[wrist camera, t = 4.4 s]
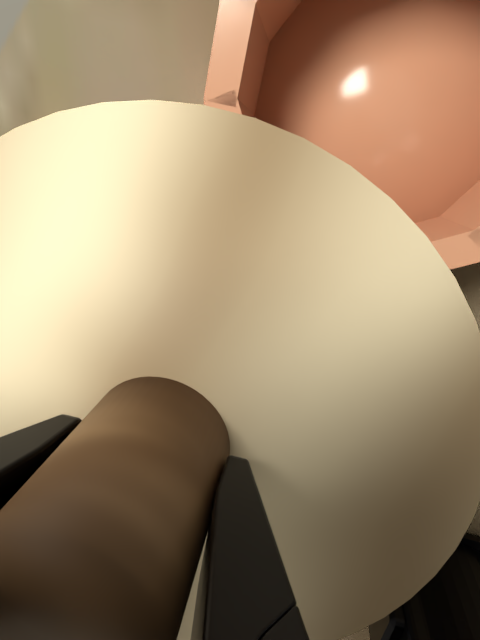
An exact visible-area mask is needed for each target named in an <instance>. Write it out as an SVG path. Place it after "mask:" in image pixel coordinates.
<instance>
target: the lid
mask: <svg viewBox="0 0 480 640" xmlns="http://www.w3.org/2000/svg"><path fill="white" fill-rule="evenodd" d="M61 414H66V415H70V416H74V417H78V418H80V419H81V420H82V421H81V422H80V423H79V424H78V426H77V427H76V428H75V429H74V430H73V431H72V432H71V433H70V434H69V435H68V437H67V438H66V439H65V440H64V441H63V442H62V443H61V444H60V445H59V446H58V448H57V449H56V450H55V451H54V452H53V453H52V454H51V455H50V456H49V457H48V459H47V460H46V461H45V462H44V463H43V464H42V465H41V466H40V467H39V468H38V469H37V471H36V472H35V473H34V474H33V475H32V476H31V477H30V478H29V479H28V480H27V482H26V483H25V484H24V485H23V486H22V487H21V488H20V489H19V490H18V491H17V493H16V494H15V495H14V496H13V497H12V498H11V499H10V500H9V501H8V502H7V504H6V505H5V506H4V507H3V508H2V509H1V510H0V640H191V633H192V625H193V618H194V611H195V604H196V596H197V589H198V583H199V577H200V571H201V566H202V560H203V555H204V550H205V545H206V539H207V534H208V529H209V524H210V518H211V513H212V508H213V503H214V497H215V493H216V489H217V486H218V483H219V480H220V477H221V474H222V471H223V468H224V465H225V462H226V459H227V457H228V456H230V455H232V456H237V457H241V458H245V459H247V460H248V461H249V463H250V466H251V469H252V472H253V475H254V478H255V481H256V484H257V487H258V490H259V493H260V496H261V499H262V502H263V505H264V508H265V511H266V514H267V517H268V520H269V522H270V525H271V528H272V531H273V534H274V537H275V540H276V543H277V546H278V549H279V552H280V555H281V558H282V561H283V564H284V567H285V570H286V573H287V576H288V579H289V582H290V585H291V588H292V590H293V593H294V596H295V599H296V603H297V604H296V606H297V607H298V608H299V610H300V613H301V616H302V619H303V622H304V625H305V628H306V631H307V634H308V636H309V639H310V640H338V639H341V638H343V637H346V636H349V635H351V634H354V633H356V632H358V631H360V630H362V629H364V628H365V627H367V626H369V625H371V624H373V623H375V622H377V621H379V620H381V619H383V618H384V617H386V616H387V615H388V614H390V613H391V612H393V611H394V610H395V609H397V608H398V607H400V606H401V605H403V604H404V603H405V602H407V601H408V600H410V599H411V598H412V597H413V596H414V595H415V594H416V593H417V592H418V591H419V590H420V589H421V588H423V587H424V586H425V585H426V584H427V583H428V582H429V581H430V580H431V579H432V578H433V577H434V576H435V575H436V574H437V573H438V571H439V570H440V569H441V568H442V566H443V565H444V564H445V562H446V561H447V560H448V559H449V557H450V556H451V555H452V554H453V552H454V551H455V550H456V548H457V547H458V545H459V543H460V541H461V540H462V538H463V536H464V534H465V532H466V531H467V529H468V527H469V525H470V524H471V522H472V520H473V518H474V516H475V513H476V510H477V508H478V505H479V502H480V332H479V329H478V326H477V322H476V319H475V317H474V315H473V313H472V311H471V309H470V307H469V305H468V303H467V301H466V299H465V297H464V295H463V293H462V291H461V289H460V286H459V284H458V282H457V280H456V278H455V276H454V275H453V274H452V272H451V271H450V269H449V268H448V266H447V265H446V263H445V262H444V261H443V259H442V258H441V256H440V255H439V253H438V252H437V250H436V249H435V247H434V246H433V245H432V243H431V242H430V240H429V239H428V237H427V236H426V235H425V234H424V233H423V232H422V231H421V230H420V228H419V227H418V226H417V225H416V224H415V223H414V222H413V221H412V220H411V219H410V218H409V217H408V216H407V215H406V213H405V212H404V211H403V210H402V209H401V208H400V207H399V206H398V205H397V204H396V203H395V202H394V201H393V200H392V198H390V197H389V196H388V195H387V194H385V193H384V192H383V191H382V190H380V189H379V188H378V187H377V186H375V185H374V184H373V183H372V182H370V181H369V180H368V179H367V178H365V177H364V176H363V175H362V174H360V173H359V172H358V171H357V170H355V169H354V168H353V167H352V166H350V165H349V164H347V163H345V162H344V161H342V160H340V159H339V158H337V157H335V156H333V155H332V154H330V153H328V152H327V151H325V150H323V149H322V148H320V147H318V146H317V145H315V144H313V143H311V142H310V141H308V140H306V139H305V138H302V137H300V136H298V135H295V134H293V133H290V132H288V131H285V130H283V129H281V128H278V127H276V126H273V125H271V124H268V123H266V122H264V121H261V120H259V119H256V118H253V117H249V116H245V115H242V114H238V113H234V112H230V111H226V110H222V109H218V108H214V107H210V106H206V105H199V104H189V103H179V102H169V101H159V100H139V101H119V102H102V103H97V104H93V105H88V106H83V107H78V108H74V109H69V110H64V111H59V112H56V113H53V114H50V115H48V116H45V117H43V118H40V119H38V120H35V121H32V122H30V123H27V124H25V125H22V126H19V127H17V128H15V129H13V130H11V131H9V132H8V133H6V134H4V135H3V136H1V137H0V437H1V436H4V435H7V434H9V433H12V432H15V431H18V430H20V429H23V428H26V427H28V426H31V425H34V424H36V423H39V422H42V421H44V420H47V419H50V418H53V417H55V416H58V415H61Z"/></svg>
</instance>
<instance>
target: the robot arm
mask: <svg viewBox="0 0 480 640" xmlns="http://www.w3.org/2000/svg"><path fill="white" fill-rule="evenodd" d="M81 421H82V420H81V419H80V418H78V417H74V416H70V415H66V414H61V415H58V416H55V417H53V418H50V419H47V420H44V421H42V422H39V423H36V424H34V425H31V426H28V427H26V428H23V429H20V430H18V431H15V432H12V433H9V434H7V435H4V436H1V437H0V510H1V509H2V508H3V507H4V506H5V505H6V504H7V502H8V501H9V500H10V499H11V498H12V497H13V496H14V495H15V494H16V493H17V491H18V490H19V489H20V488H21V487H22V486H23V485H24V484H25V483H26V482H27V480H28V479H29V478H30V477H31V476H32V475H33V474H34V473H35V472H36V471H37V469H38V468H39V467H40V466H41V465H42V464H43V463H44V462H45V461H46V460H47V459H48V457H49V456H50V455H51V454H52V453H53V452H54V451H55V450H56V449H57V448H58V446H59V445H60V444H61V443H62V442H63V441H64V440H65V439H66V438H67V437H68V435H69V434H70V433H71V432H72V431H73V430H74V429H75V428H76V427H77V426H78V424H79V423H80V422H81ZM296 604H297V603H296V599H295V596H294V593H293V590H292V588H291V585H290V582H289V579H288V576H287V573H286V570H285V567H284V564H283V561H282V558H281V555H280V552H279V549H278V546H277V543H276V540H275V537H274V534H273V531H272V528H271V525H270V522H269V520H268V517H267V514H266V511H265V508H264V505H263V502H262V499H261V496H260V493H259V490H258V487H257V484H256V481H255V478H254V475H253V472H252V469H251V466H250V463H249V461H248V460H247V459H245V458H241V457H237V456H232V455H230V456H228V457H227V459H226V462H225V465H224V468H223V471H222V474H221V477H220V480H219V483H218V486H217V489H216V493H215V497H214V503H213V508H212V513H211V518H210V524H209V529H208V534H207V539H206V545H205V550H204V555H203V560H202V566H201V571H200V577H199V583H198V589H197V596H196V604H195V611H194V618H193V625H192V633H191V640H310V639H309V636H308V634H307V631H306V628H305V625H304V622H303V619H302V616H301V613H300V610H299V608H298V607H297V606H296ZM369 634H370V640H480V537H478V536H475V535H471V534H468V533H465V534H464V536H463V538H462V540H461V541H460V543H459V545H458V547H457V548H456V550H455V551H454V552H453V554H452V555H451V556H450V557H449V559H448V560H447V561H446V562H445V564H444V565H443V566H442V568H441V569H440V570H439V571H438V573H437V574H436V575H435V576H434V577H433V578H432V579H431V580H430V581H429V582H428V583H427V584H426V585H425V586H424V587H423V588H421V589H420V590H419V591H418V592H417V593H416V594H415V595H414V596H413V597H412V598H411V599H410V600H408V601H407V602H405V603H404V604H403V605H401V606H400V607H398V608H397V609H395V610H394V611H393V612H391V613H390V614H388V615H387V616H386V617H384V618H383V619H381V620H379V621H377V622H375V623H373V624H371V625H369Z"/></svg>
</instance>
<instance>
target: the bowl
mask: <svg viewBox="0 0 480 640" xmlns="http://www.w3.org/2000/svg"><path fill="white" fill-rule="evenodd" d="M204 105H206V106H210V107H214V108H218V109H222V110H226V111H230V112H234V113H238V114H242V115H245V116H249V117H253V118H256V119H259V120H261V121H264V122H266V123H268V124H271V125H273V126H276V127H278V128H281V129H283V130H285V131H288V132H290V133H293V134H295V135H298V136H300V137H302V138H305V139H306V140H308V141H310V142H311V143H313V144H315V145H317V146H318V147H320V148H322V149H323V150H325V151H327V152H328V153H330V154H332V155H333V156H335V157H337V158H339V159H340V160H342V161H344V162H345V163H347V164H349V165H350V166H352V167H353V168H354V169H355V170H357V171H358V172H359V173H360V174H362V175H363V176H364V177H365V178H367V179H368V180H369V181H370V182H372V183H373V184H374V185H375V186H377V187H378V188H379V189H380V190H382V191H383V192H384V193H385V194H387V195H388V196H389V197H390V198H392V200H393V201H394V202H395V203H396V204H397V205H398V206H399V207H400V208H401V209H402V210H403V211H404V212H405V213H406V215H407V216H408V217H409V218H410V219H411V220H412V221H413V222H414V223H415V224H416V225H417V226H418V227H419V228H420V230H421V231H422V232H423V233H424V234H425V235H426V236H427V237H428V239H429V240H430V242H431V243H432V245H433V246H434V247H435V249H436V250H437V252H438V253H439V255H440V256H441V258H442V259H443V261H444V262H445V263H446V265H447V266H448V268H449V269H454V268H458V267H462V266H466V265H470V264H474V263H478V262H480V0H220V3H219V9H218V15H217V21H216V27H215V33H214V39H213V45H212V51H211V57H210V63H209V70H208V76H207V82H206V88H205V94H204Z"/></svg>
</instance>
